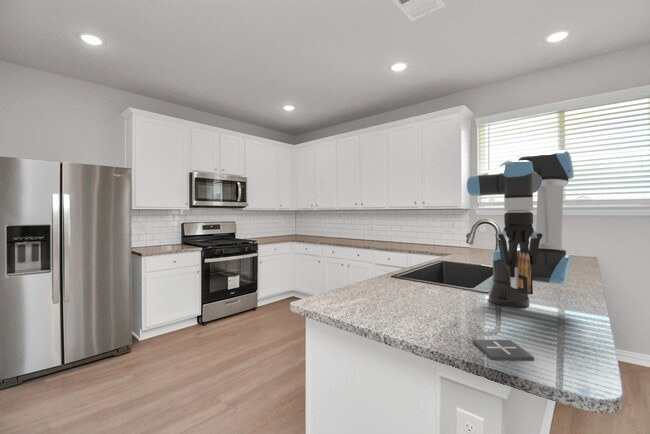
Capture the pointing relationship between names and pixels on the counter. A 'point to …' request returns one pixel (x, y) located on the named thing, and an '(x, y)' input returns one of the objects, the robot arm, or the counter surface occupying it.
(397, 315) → the counter surface
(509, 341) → the mat
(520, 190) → the robot arm
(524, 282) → the ammunition clip
